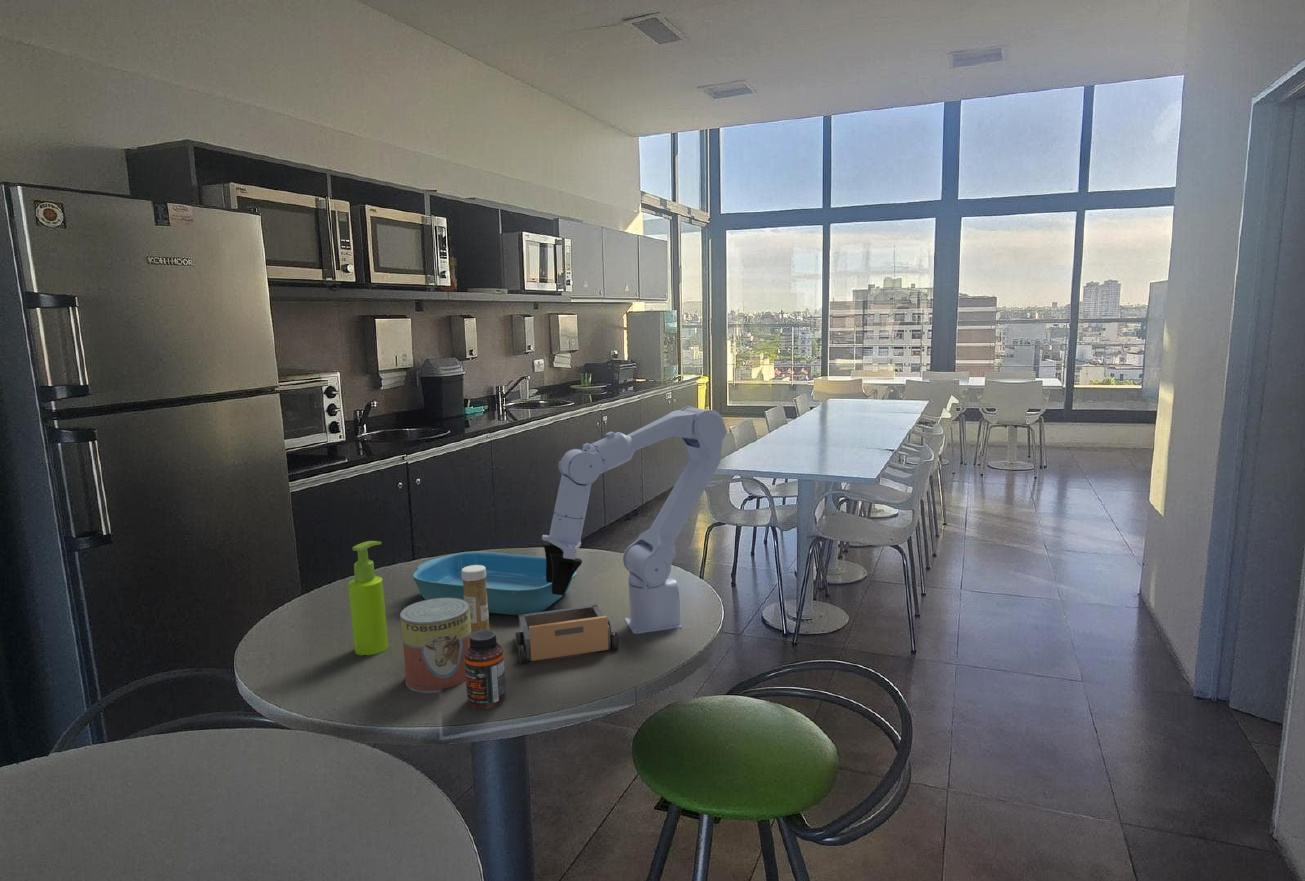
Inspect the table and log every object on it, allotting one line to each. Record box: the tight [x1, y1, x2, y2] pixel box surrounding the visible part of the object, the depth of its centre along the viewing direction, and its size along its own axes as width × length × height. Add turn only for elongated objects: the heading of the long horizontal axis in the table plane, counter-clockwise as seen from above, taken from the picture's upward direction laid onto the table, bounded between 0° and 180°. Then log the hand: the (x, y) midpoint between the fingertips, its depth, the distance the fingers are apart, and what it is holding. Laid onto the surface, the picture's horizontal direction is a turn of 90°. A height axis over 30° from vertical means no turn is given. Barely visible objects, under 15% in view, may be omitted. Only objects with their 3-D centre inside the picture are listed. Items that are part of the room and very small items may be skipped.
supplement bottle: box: [464, 629, 507, 710], centre depth 118 cm, size 6×6×11 cm
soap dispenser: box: [347, 540, 389, 656], centre depth 140 cm, size 6×7×20 cm
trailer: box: [514, 604, 620, 665], centre depth 139 cm, size 17×13×4 cm
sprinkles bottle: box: [461, 565, 491, 634], centre depth 144 cm, size 5×5×14 cm
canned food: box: [399, 598, 471, 694], centre depth 127 cm, size 11×11×12 cm
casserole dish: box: [412, 551, 578, 616], centre depth 165 cm, size 37×22×7 cm, turn 71°
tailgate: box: [529, 615, 609, 662], centre depth 133 cm, size 14×1×6 cm, turn 106°
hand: (554, 588), depth 138 cm, fingers open, 7 cm apart
